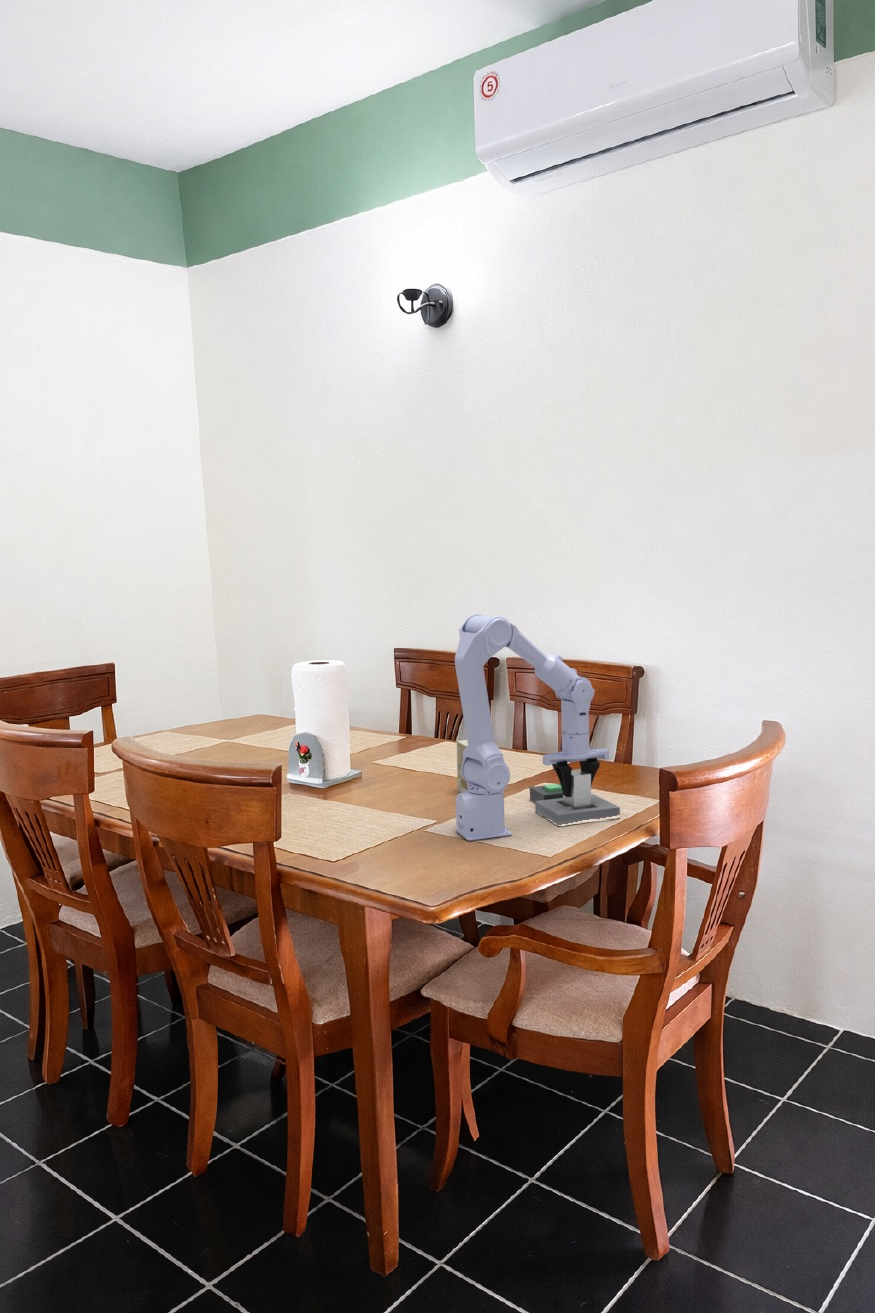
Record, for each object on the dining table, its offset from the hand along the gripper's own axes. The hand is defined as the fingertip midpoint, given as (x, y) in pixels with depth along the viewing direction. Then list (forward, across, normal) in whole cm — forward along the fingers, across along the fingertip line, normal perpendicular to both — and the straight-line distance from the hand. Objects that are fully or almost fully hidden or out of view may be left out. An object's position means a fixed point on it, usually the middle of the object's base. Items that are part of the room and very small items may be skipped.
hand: (576, 795), depth 212 cm
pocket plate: (+4, 0, 0) cm, 4 cm away
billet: (+2, 0, 0) cm, 2 cm away
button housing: (+4, 0, -12) cm, 13 cm away
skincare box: (+5, +14, -28) cm, 32 cm away
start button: (+3, 0, -12) cm, 12 cm away
